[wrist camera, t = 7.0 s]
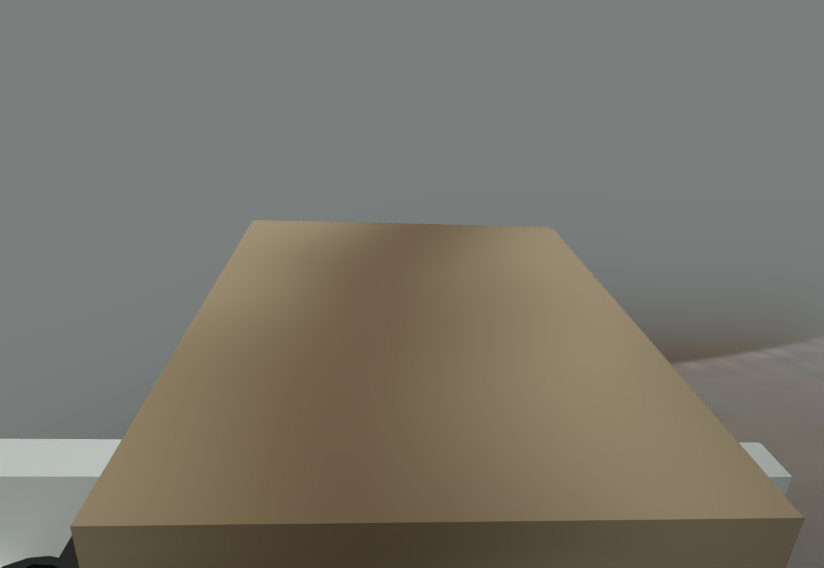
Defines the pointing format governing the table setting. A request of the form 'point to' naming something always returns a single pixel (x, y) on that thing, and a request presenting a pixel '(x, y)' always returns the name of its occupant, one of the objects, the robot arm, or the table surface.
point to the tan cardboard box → (424, 420)
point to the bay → (78, 473)
